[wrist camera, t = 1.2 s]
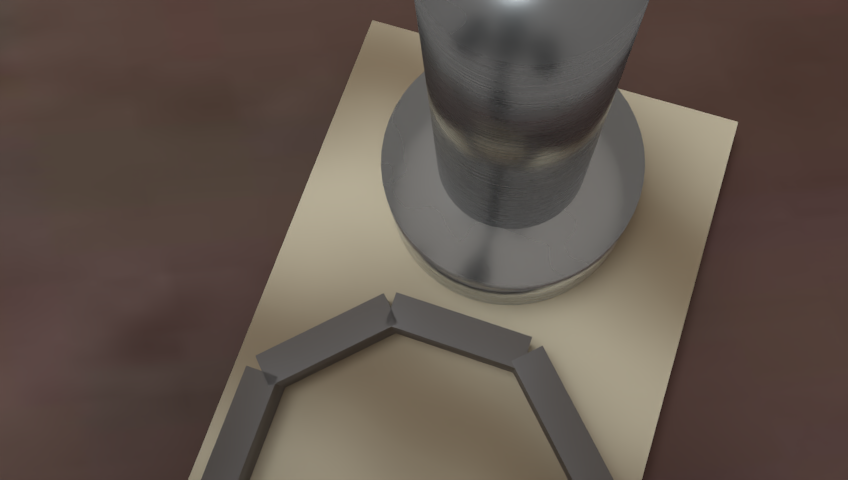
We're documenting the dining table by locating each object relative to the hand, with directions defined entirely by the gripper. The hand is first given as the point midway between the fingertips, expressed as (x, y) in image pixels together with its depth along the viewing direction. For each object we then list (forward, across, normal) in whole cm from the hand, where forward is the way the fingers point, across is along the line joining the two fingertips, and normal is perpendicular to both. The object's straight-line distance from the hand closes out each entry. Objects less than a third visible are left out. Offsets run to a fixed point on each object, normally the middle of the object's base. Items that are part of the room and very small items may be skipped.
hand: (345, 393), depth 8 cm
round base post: (+13, 0, +4) cm, 13 cm away
